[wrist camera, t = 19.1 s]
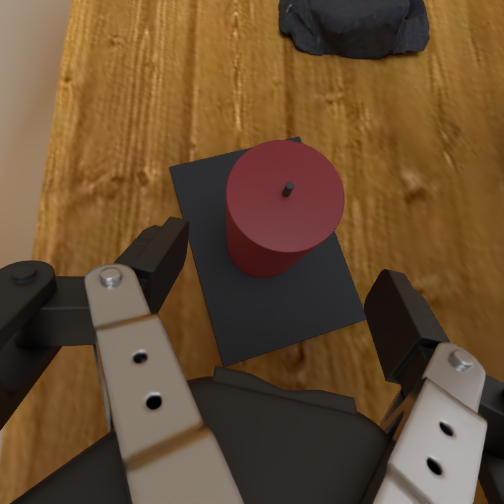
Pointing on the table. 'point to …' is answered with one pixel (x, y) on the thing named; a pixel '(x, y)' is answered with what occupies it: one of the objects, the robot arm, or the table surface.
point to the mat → (259, 289)
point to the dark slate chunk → (355, 26)
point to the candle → (280, 206)
